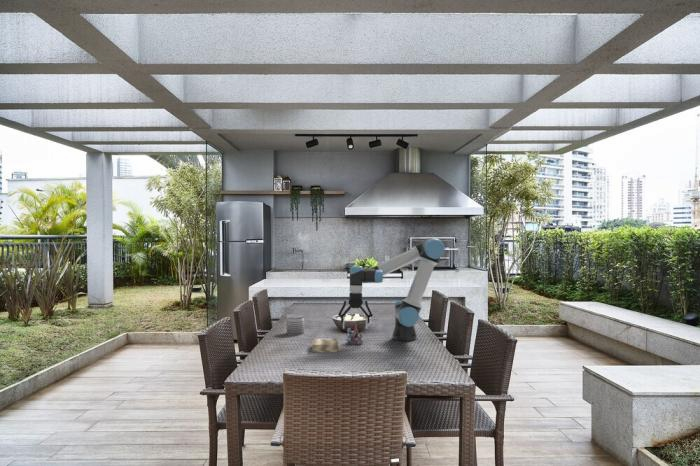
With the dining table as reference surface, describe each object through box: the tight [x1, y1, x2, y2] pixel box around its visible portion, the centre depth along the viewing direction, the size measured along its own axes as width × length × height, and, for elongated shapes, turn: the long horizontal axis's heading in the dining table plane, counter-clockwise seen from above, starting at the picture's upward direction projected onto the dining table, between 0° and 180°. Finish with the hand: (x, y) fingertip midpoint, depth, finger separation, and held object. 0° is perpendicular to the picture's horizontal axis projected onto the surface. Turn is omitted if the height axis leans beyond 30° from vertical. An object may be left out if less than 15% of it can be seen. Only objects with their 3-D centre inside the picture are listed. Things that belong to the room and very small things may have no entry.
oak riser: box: [311, 338, 339, 353], centre depth 268 cm, size 14×15×4 cm
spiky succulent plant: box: [345, 324, 364, 346], centre depth 282 cm, size 11×11×12 cm
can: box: [286, 313, 305, 336], centre depth 310 cm, size 11×11×12 cm
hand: (355, 328), depth 282 cm, fingers open, 13 cm apart
